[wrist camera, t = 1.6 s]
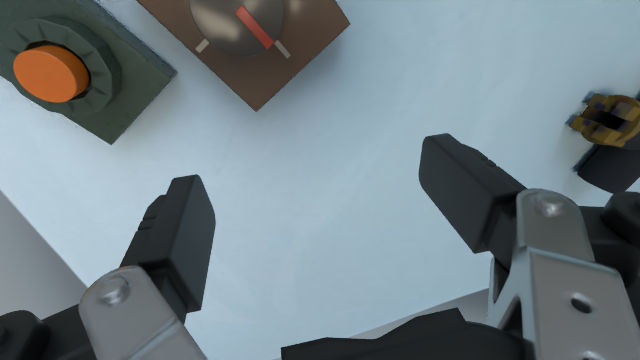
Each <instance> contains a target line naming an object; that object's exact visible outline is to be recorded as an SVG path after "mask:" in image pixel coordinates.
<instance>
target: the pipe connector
mask: <svg viewBox="0 0 640 360" xmlns="http://www.w3.org/2000/svg"><path fill="white" fill-rule="evenodd" d="M586 105H588V106H589V107H588V108H587V109H586V110H585V112H584V113H583V115H582V117H580V116H577V117H576V118H575V120H574V121H573V122H572V123H571V125H570V126H569V127H571V128H573V129H576V130H578V131H580V132H581V134H582V136H583V137H584V138H585V139H587V140H588V141H590V142H593V143H596V144H601V145H602V146H601V147H600V148H599V149H598V150H597V151H596V153H595V154H594V155H593V156H592V157H591V158H590V159H589V160H588V162H587V163H586V164H585V165H584V166H583V167H582V168H581V169H580V171H579V172H578V173H577V174H578V176H580V177H581V178H582V179H584V180H585V181H587V182H589V183H590V184H592V185H594V186H596V187H598V188H600V189H602V190H605V191H607V192H610V193H613V194H615V193H618V192H625V191H626V190H627V189H628V188H629V187H630V186H631V185H632V184H633V183H634V182H635V181H636V180H637V179H638V178H639V177H640V102H639V101H638V100H636V99H633V98H631V97H628V96H623V95H614V96H608V97H605V96H602V95H599V94H596V93H595V94H594V95H593V97H592V98H591V99H590V101H589V102H588V103H587V104H586Z"/></svg>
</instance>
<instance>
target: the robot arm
mask: <svg viewBox="0 0 640 360" xmlns="http://www.w3.org/2000/svg"><path fill="white" fill-rule="evenodd" d="M419 181H420V184H421V186H422V188H423V190H424V191H425V192H426V193H427V195H428V196H429V197H430V198H431V200H432V201H433V202H434V203H435V205H436V206H437V207H438V209H439V210H440V211H441V212H442V214H443V215H444V216H445V217H446V219H447V220H448V221H449V222H450V224H451V225H452V226H453V228H454V229H455V230H456V231H457V233H458V234H459V235H460V236H461V238H462V239H463V240H464V241H465V243H466V244H467V245H468V246H469V248H470V249H471V250H472V252H473V253H474V254H476V253H481V252H485V251H490V252H491V253H492V254H493V257H492V259H491V264H490V283H489V304H488V315H487V320H486V323H485V324H482V323H476V322H470V321H465V319H464V318H463V316H462V315H461V313H460V311H459V309H458V308H453V309H448V310H444V311H440V312H435V313H431V314H427V315H422V316H418V317H415V318H413V319H411V320H410V321H408V322H406V323H404V324H403V325H401V326H399V327H397V328H395V329H394V330H392V331H390V332H388V333H387V334H385V335H383V336H381V337H379V338H377V339H351V338H329V337H326V338H321V339H317V340H312V341H308V342H304V343H299V344H295V345H291V346H286V347H282V348H281V358H282V360H640V193H638V192H618V193H615V194H613V195H612V196H611V198H610V199H609V201H608V202H607V204H606V205H605V207H589V206H578V205H577V204H576V203H575V202H573V201H572V200H571V199H569V198H567V197H566V196H564V195H562V194H559V193H557V192H553V191H550V190H545V189H536V188H535V189H527V188H526V187H525V186H523V185H522V184H521V183H519V182H518V181H517V180H516V179H514V178H513V177H512V176H510V175H509V174H508V173H507V172H505V171H504V170H503V169H501V168H500V167H499V166H498V167H497V166H496V164H495V163H494V162H492V161H491V160H488V158H487V157H486V156H485V155H483V154H482V153H481V152H479V151H478V150H476V149H474V148H471V147H469V146H467V145H464V144H461V143H460V142H459V141H457V140H456V139H455V138H454V137H452V136H451V135H450V134H448V133H445V134H439V135H433V136H427V137H425V139H424V141H423V145H422V152H421V159H420V167H419ZM215 224H216V221H215V213H214V210H213V207H212V205H211V202H210V200H209V197H208V195H207V192H206V190H205V187H204V185H203V182H202V180H201V178H200V176H199V175H197V174H196V175H190V176H184V177H178V178H174V179H173V180H172V182H171V184H170V186H169V189H168V191H167V193H166V195H160V196H159V197H158V198H157V199H156V200H155V201H154V202H153V203H152V204H151V205H150V206H149V207H148V208H147V210H146V212H145V215H144V217H143V221H141V223H140V225H139V227H138V231H136V233H135V235H134V237H133V239H132V241H131V244H130V246H129V248H128V250H127V252H126V254H125V256H124V258H123V260H122V262H121V264H120V266H119V268H117V269H115V270H113V271H110V272H109V273H107V274H105V275H103V276H102V277H100V278H99V279H98V280H97V281H95V282H94V283H93V284H92V285H91V286H90V287H89V288H88V289H87V290H86V292H85V293H84V295H83V296H82V298H81V300H80V303H79V304H77V305H75V306H72V307H70V308H68V309H65V310H63V311H61V312H59V313H57V314H54V315H52V316H50V317H47V318H45V319H43V320H40V319H39V318H38V317H36V316H35V315H34V314H33V313H31V312H29V311H25V310H19V311H14V312H10V313H7V314H5V315H2V316H0V360H208V359H207V358H206V356H205V355H204V353H203V352H202V350H201V349H200V348H199V346H198V345H197V343H196V342H195V341H194V339H193V338H192V336H191V335H190V334H189V332H188V331H187V329H186V328H185V326H184V323H185V319H186V314H187V313H190V312H195V311H199V310H201V307H202V301H203V295H204V289H205V284H206V278H207V272H208V266H209V260H210V255H211V249H212V243H213V237H214V231H215Z"/></svg>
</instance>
